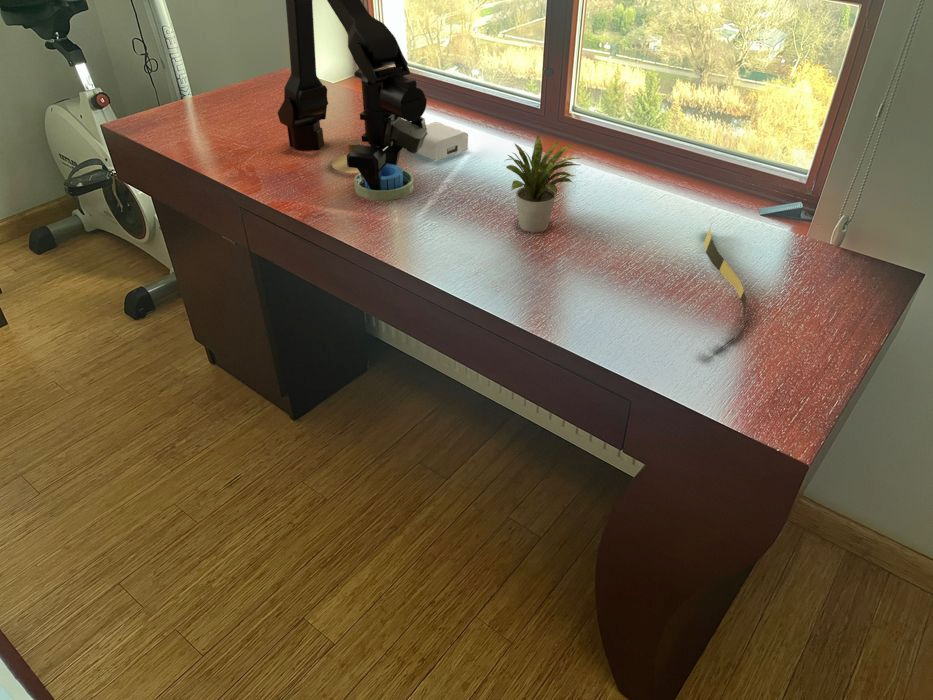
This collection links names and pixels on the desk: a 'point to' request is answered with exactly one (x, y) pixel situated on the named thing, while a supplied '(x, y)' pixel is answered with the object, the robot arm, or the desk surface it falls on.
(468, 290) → the desk surface
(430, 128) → the charger
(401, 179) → the blue gear
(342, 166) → the tape holder
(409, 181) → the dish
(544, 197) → the house plant
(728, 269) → the tape
